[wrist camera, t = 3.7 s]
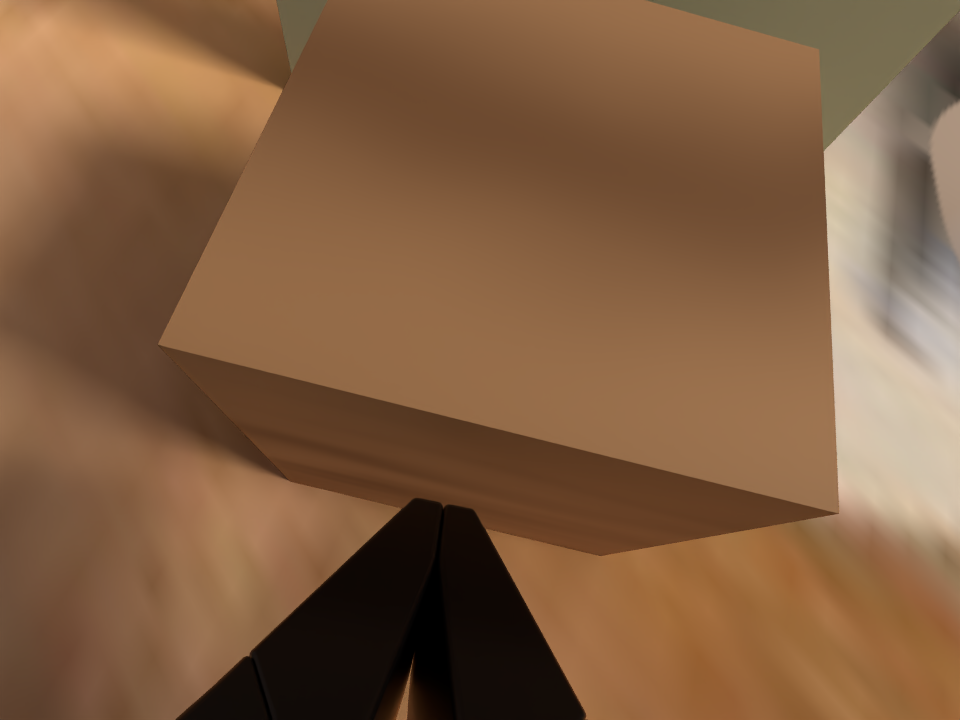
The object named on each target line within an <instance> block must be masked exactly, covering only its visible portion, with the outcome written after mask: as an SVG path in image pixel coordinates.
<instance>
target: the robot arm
mask: <svg viewBox="0 0 960 720" xmlns="http://www.w3.org/2000/svg"><path fill="white" fill-rule="evenodd" d="M413 656H414V657H413ZM412 660H413V663H412ZM411 665H412V670H411V677H410V688H409V700H408V715H407V720H585V718H586V713H585V711H584V709H583V707H582V706H581V704H580V702H579V700H578V698H577V696H576V695H575V693H574V691H573V689H572V687H571V685H570V684H569V682H568V680H567V678H566V676H565V674H564V673H563V671H562V669H561V667H560V665H559V663H558V662H557V660H556V658H555V656H554V654H553V652H552V651H551V649H550V647H549V645H548V643H547V641H546V640H545V638H544V636H543V634H542V632H541V630H540V629H539V627H538V625H537V623H536V621H535V620H534V618H533V616H532V614H531V612H530V610H529V609H528V607H527V605H526V603H525V601H524V599H523V598H522V596H521V594H520V592H519V590H518V588H517V587H516V585H515V583H514V581H513V579H512V577H511V576H510V574H509V572H508V570H507V568H506V566H505V565H504V563H503V561H502V559H501V557H500V555H499V554H498V552H497V550H496V548H495V546H494V545H493V543H492V541H491V539H490V537H489V535H488V534H487V532H486V530H485V528H484V526H483V524H482V523H481V521H480V519H479V517H478V515H477V513H476V512H475V511H474V510H473V509H471V508H467V507H462V506H457V505H452V504H447V505H445V506H444V509H443V505H442V504H441V503H440V502H437V501H432V500H427V499H423V498H414V499H412V500H411V501H410V502H409V503H408V504H407V505H406V506H405V507H404V508H402V509H401V510H400V511H399V512H398V513H397V514H396V515H395V516H394V517H393V518H392V519H391V520H390V521H389V522H388V523H387V524H385V525H384V526H383V527H382V528H381V529H380V530H379V531H378V532H377V533H376V534H375V535H374V536H373V537H372V538H371V539H369V540H368V541H367V542H366V543H365V544H364V545H363V546H362V547H361V548H360V549H359V550H358V551H357V552H356V553H355V554H354V555H352V556H351V557H350V558H349V559H348V560H347V561H346V562H345V563H344V564H343V565H342V566H341V567H340V568H339V569H338V570H337V571H335V572H334V573H333V574H332V575H331V576H330V577H329V578H328V579H327V580H326V581H325V582H324V583H323V584H322V585H321V586H320V587H318V588H317V589H316V590H315V591H314V592H313V593H312V594H311V595H310V596H309V597H308V598H307V599H306V600H305V601H304V602H303V603H301V604H300V605H299V606H298V607H297V608H296V609H295V610H294V611H293V612H292V613H291V614H290V615H289V616H288V617H287V618H286V619H284V620H283V621H282V622H281V623H280V624H279V625H278V626H277V627H276V628H275V629H274V630H273V631H272V632H271V633H270V634H269V635H267V636H266V637H265V638H264V639H263V640H262V641H261V642H260V643H259V644H258V645H257V646H256V647H255V648H254V649H253V650H251V652H250V655H249V656H245V657H244V658H242V659H241V660H240V661H239V662H238V663H237V664H236V665H235V666H234V667H233V668H232V669H231V670H230V671H229V672H228V673H227V674H226V675H224V676H223V677H222V678H221V679H220V680H219V681H218V682H217V683H216V684H215V685H214V686H213V687H212V688H210V689H209V690H208V691H207V692H206V693H205V694H204V695H203V696H201V697H200V698H199V699H198V700H197V701H196V702H195V703H194V704H192V705H191V706H190V707H189V708H188V709H187V710H186V711H184V712H183V713H182V714H181V715H180V716H179V717H178V718H177V719H175V720H396V717H397V714H398V711H399V708H400V704H401V701H402V698H403V695H404V691H405V688H406V684H407V681H408V677H409V673H410V669H411Z"/></svg>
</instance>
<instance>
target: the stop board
mask: <svg viewBox="0 0 960 720" xmlns="http://www.w3.org/2000/svg"><path fill="white" fill-rule="evenodd" d="M646 1H650V2H653V3H657V4H660V5H664V6H667V7H671V8H674V9H678V10H681V11H685V12H689V13H692V14H696V15H699V16H703V17H706V18H710V19H713V20H717V21H720V22H724V23H727V24H731V25H735V26H738V27H742V28H745V29H749V30H752V31H756V32H759V33H763V34H766V35H770V36H773V37H777V38H780V39H784V40H788V41H791V42H795V43H798V44H802V45H805V46H809V47H812V48H816V49H819V58H820V81H821V105H822V128H823V151H824V150H825V149H826V148H827V147H828V146H829V145H830V144H831V143H832V142H833V141H834V140H835V139H836V138H837V137H838V136H839V135H840V134H841V133H842V132H843V130H844V129H845V128H846V127H847V126H848V125H849V124H850V123H851V122H852V121H853V120H854V119H855V118H856V117H857V116H858V115H859V114H860V113H861V112H862V111H863V110H864V109H865V108H866V107H867V106H868V105H869V104H870V103H871V102H872V101H873V99H874V98H875V97H876V96H877V95H878V94H879V93H880V92H881V91H882V90H883V89H884V88H885V87H886V86H887V85H888V84H889V83H890V82H891V81H892V80H893V79H894V78H895V77H896V76H897V75H898V74H899V73H900V72H901V71H902V70H903V68H904V67H905V66H906V65H907V64H908V63H909V62H910V61H911V60H912V59H913V58H914V57H915V56H916V55H917V54H918V53H919V52H920V51H921V50H922V49H923V48H924V47H925V46H926V45H927V44H928V43H929V42H930V41H931V40H932V39H933V37H934V36H935V35H936V34H937V33H938V32H939V31H940V30H941V29H942V28H943V27H944V26H945V25H946V24H947V23H948V22H949V21H950V20H951V19H952V18H953V17H954V16H955V15H956V14H957V13H958V12H959V11H960V0H646ZM326 2H327V0H277V5H278V10H279V15H280V20H281V25H282V30H283V35H284V39H285V44H286V49H287V54H288V59H289V64H290V69H291V73H292V71H293V69H294V67H295V65H296V63H297V61H298V59H299V57H300V55H301V53H302V51H303V49H304V47H305V45H306V43H307V41H308V39H309V37H310V35H311V33H312V31H313V28H314V26H315V24H316V22H317V20H318V18H319V16H320V14H321V12H322V10H323V8H324V6H325V4H326Z"/></svg>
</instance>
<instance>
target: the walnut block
mask: <svg viewBox="0 0 960 720" xmlns="http://www.w3.org/2000/svg"><path fill="white" fill-rule="evenodd" d="M158 346H159V347H160V348H161V349H162V350H163V351H164V352H165V353H166V354H167V355H168V356H169V357H170V358H171V359H172V360H173V361H174V362H175V363H176V364H177V365H178V366H179V367H180V368H181V369H182V370H183V371H184V372H185V374H186V375H187V376H188V377H189V378H190V379H191V380H192V381H193V382H194V383H195V384H196V385H197V386H198V387H199V388H200V389H201V390H202V391H203V392H204V393H205V394H206V395H207V396H208V397H209V398H210V399H211V400H212V401H213V402H214V403H215V404H216V405H217V406H218V408H219V409H220V410H221V411H222V412H223V413H224V414H225V415H226V416H227V417H228V418H229V419H230V420H231V421H232V422H233V423H234V424H235V425H236V426H237V427H238V428H239V429H240V430H241V431H242V432H243V433H244V434H245V435H246V436H247V437H248V438H249V439H250V440H251V442H252V443H253V444H254V445H255V446H256V447H257V448H258V449H259V450H260V451H261V452H262V453H263V454H264V455H265V456H266V457H267V458H268V459H269V460H270V461H271V462H272V463H273V464H274V465H275V466H276V467H277V468H278V469H279V470H280V471H281V472H282V473H283V474H284V475H285V477H286V478H287V479H288V480H289V481H291V482H295V483H299V484H303V485H307V486H312V487H316V488H320V489H324V490H328V491H332V492H337V493H341V494H345V495H349V496H353V497H357V498H361V499H366V500H370V501H374V502H378V503H382V504H386V505H391V506H395V507H399V508H404V507H405V506H406V505H407V504H408V503H409V502H410V501H411V500H412V499H414V498H423V499H427V500H432V501H437V502H440V503H441V504H442V505H443V509H444V506H445V505H447V504H452V505H457V506H462V507H467V508H471V509H473V510H474V511H475V512H476V513H477V515H478V517H479V519H480V521H481V523H482V524H483V526H484V528H486V529H491V530H495V531H499V532H503V533H507V534H511V535H516V536H520V537H524V538H528V539H532V540H536V541H540V542H545V543H549V544H553V545H557V546H561V547H565V548H570V549H574V550H578V551H582V552H586V553H590V554H595V555H599V556H603V555H609V554H614V553H620V552H626V551H631V550H637V549H642V548H648V547H654V546H659V545H665V544H671V543H676V542H682V541H688V540H693V539H699V538H705V537H710V536H716V535H721V534H727V533H733V532H738V531H744V530H750V529H755V528H761V527H767V526H772V525H778V524H783V523H789V522H795V521H800V520H806V519H812V518H817V517H823V516H829V515H834V514H839V499H838V476H837V452H836V429H835V406H834V383H833V360H832V336H831V313H830V290H829V267H828V244H827V220H826V197H825V174H824V151H823V128H822V105H821V81H820V58H819V49H816V48H812V47H809V46H805V45H802V44H798V43H795V42H791V41H788V40H784V39H780V38H777V37H773V36H770V35H766V34H763V33H759V32H756V31H752V30H749V29H745V28H742V27H738V26H735V25H731V24H727V23H724V22H720V21H717V20H713V19H710V18H706V17H703V16H699V15H696V14H692V13H689V12H685V11H681V10H678V9H674V8H671V7H667V6H664V5H660V4H657V3H653V2H650V1H646V0H327V2H326V4H325V6H324V8H323V10H322V12H321V14H320V16H319V18H318V20H317V22H316V24H315V26H314V28H313V31H312V33H311V35H310V37H309V39H308V41H307V43H306V45H305V47H304V49H303V51H302V53H301V55H300V57H299V59H298V61H297V63H296V65H295V67H294V69H293V71H292V73H291V75H290V77H289V79H288V81H287V83H286V85H285V87H284V89H283V91H282V93H281V95H280V97H279V99H278V101H277V103H276V106H275V108H274V110H273V112H272V114H271V116H270V118H269V120H268V122H267V124H266V126H265V128H264V130H263V132H262V134H261V136H260V138H259V140H258V142H257V144H256V146H255V148H254V150H253V152H252V154H251V156H250V158H249V160H248V162H247V164H246V166H245V168H244V170H243V172H242V174H241V176H240V179H239V181H238V183H237V185H236V187H235V189H234V191H233V193H232V195H231V197H230V199H229V201H228V203H227V205H226V207H225V209H224V211H223V213H222V215H221V217H220V219H219V221H218V223H217V225H216V227H215V229H214V231H213V233H212V235H211V237H210V239H209V241H208V243H207V245H206V247H205V249H204V252H203V254H202V256H201V258H200V260H199V262H198V264H197V266H196V268H195V270H194V272H193V274H192V276H191V278H190V280H189V282H188V284H187V286H186V288H185V290H184V292H183V294H182V296H181V298H180V300H179V302H178V304H177V306H176V308H175V310H174V312H173V314H172V316H171V318H170V320H169V322H168V324H167V327H166V329H165V331H164V333H163V335H162V337H161V339H160V341H159V343H158Z"/></svg>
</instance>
